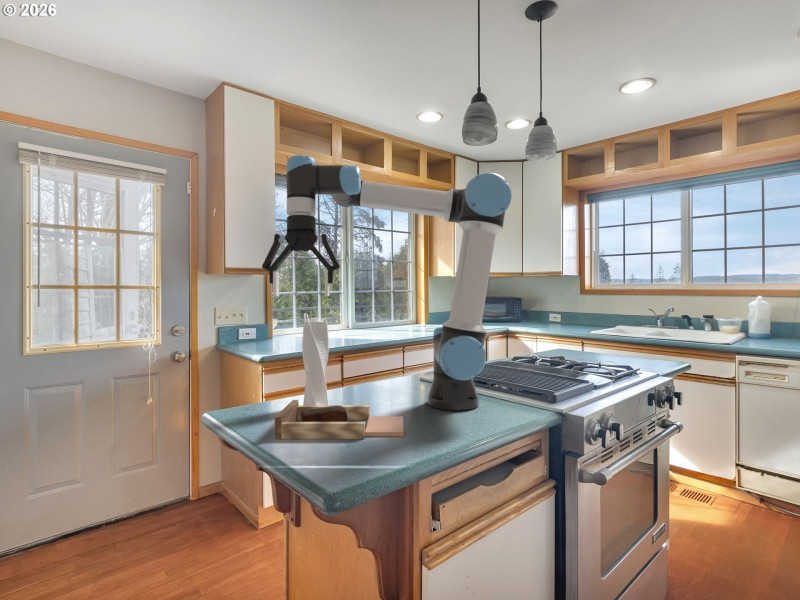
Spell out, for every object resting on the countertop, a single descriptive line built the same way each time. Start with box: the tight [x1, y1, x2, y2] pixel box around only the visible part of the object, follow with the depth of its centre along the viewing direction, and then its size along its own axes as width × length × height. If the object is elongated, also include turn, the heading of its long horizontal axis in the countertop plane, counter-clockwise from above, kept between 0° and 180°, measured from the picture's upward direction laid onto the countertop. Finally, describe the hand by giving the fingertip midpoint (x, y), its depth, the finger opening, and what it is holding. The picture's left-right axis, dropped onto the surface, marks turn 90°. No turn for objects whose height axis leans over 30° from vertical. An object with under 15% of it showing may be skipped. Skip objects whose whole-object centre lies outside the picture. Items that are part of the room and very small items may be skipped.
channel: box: [274, 399, 371, 440], centre depth 106 cm, size 20×16×5 cm
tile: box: [365, 415, 405, 437], centre depth 106 cm, size 9×13×1 cm
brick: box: [300, 404, 348, 422], centre depth 104 cm, size 11×4×5 cm, turn 111°
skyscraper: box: [301, 312, 330, 405], centre depth 124 cm, size 8×8×28 cm
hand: (301, 296), depth 114 cm, fingers open, 13 cm apart
